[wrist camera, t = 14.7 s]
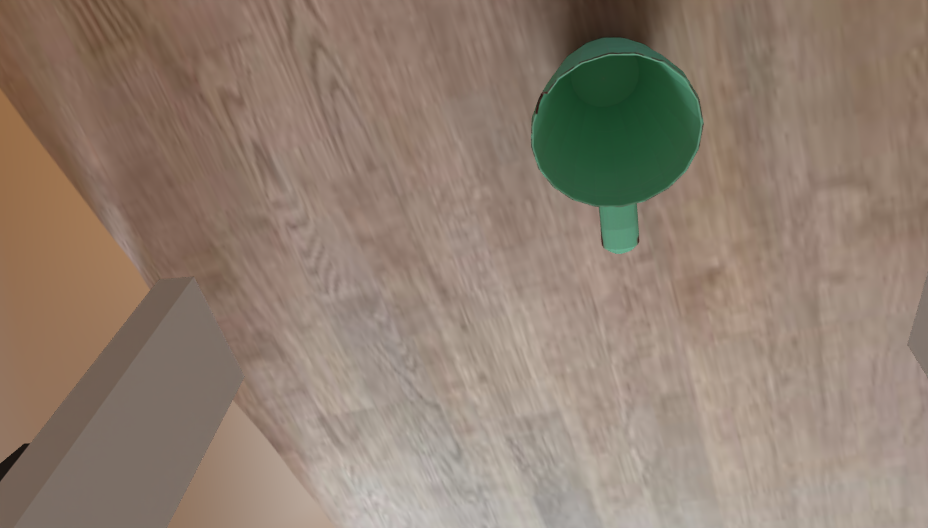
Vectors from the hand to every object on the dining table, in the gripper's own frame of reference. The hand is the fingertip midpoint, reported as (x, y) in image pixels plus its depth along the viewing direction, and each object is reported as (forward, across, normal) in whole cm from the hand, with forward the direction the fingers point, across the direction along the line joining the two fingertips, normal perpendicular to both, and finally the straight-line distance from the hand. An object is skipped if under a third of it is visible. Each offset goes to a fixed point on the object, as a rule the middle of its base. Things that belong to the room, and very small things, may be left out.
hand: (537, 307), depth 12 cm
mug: (+37, +3, -12) cm, 39 cm away
